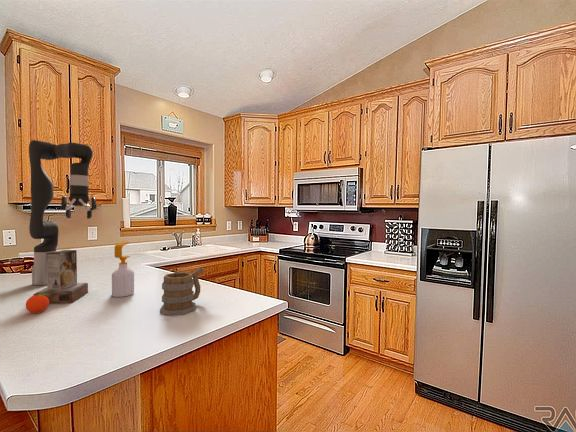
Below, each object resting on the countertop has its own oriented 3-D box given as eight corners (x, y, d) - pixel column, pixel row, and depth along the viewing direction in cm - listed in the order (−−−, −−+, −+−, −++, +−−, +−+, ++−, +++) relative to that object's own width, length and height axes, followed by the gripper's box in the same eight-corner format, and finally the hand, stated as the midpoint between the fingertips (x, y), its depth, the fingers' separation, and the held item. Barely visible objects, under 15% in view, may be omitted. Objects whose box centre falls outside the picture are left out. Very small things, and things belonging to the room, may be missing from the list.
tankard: (174, 318, 108) (174, 277, 107) (154, 311, 114) (154, 273, 114) (215, 303, 125) (215, 268, 124) (195, 298, 131) (195, 265, 131)
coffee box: (64, 284, 135) (64, 249, 135) (77, 284, 135) (77, 249, 134) (46, 289, 126) (46, 252, 126) (60, 290, 125) (60, 252, 125)
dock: (31, 306, 120) (31, 293, 120) (53, 294, 136) (53, 283, 136) (71, 303, 123) (71, 291, 123) (88, 292, 140) (87, 282, 140)
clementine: (50, 307, 118) (50, 290, 118) (54, 311, 114) (54, 293, 114) (23, 312, 112) (23, 294, 112) (27, 317, 108) (27, 297, 108)
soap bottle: (138, 292, 140) (138, 241, 140) (122, 298, 131) (122, 243, 131) (124, 291, 143) (124, 240, 143) (107, 296, 134) (107, 242, 134)
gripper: (58, 183, 137) (58, 218, 138) (92, 185, 141) (92, 218, 141) (66, 184, 145) (66, 217, 145) (98, 186, 148) (98, 218, 148)
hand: (79, 218), depth 143 cm, fingers open, 8 cm apart
